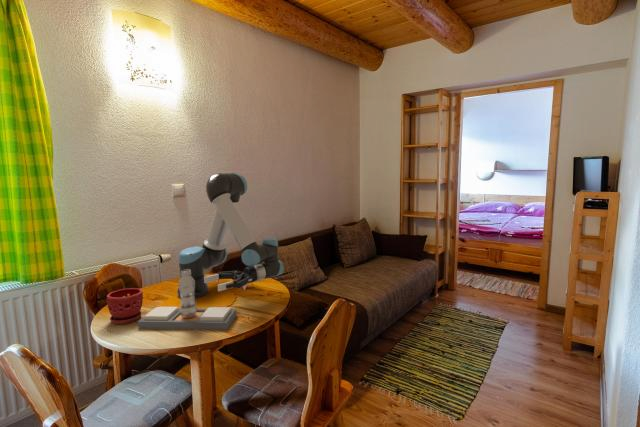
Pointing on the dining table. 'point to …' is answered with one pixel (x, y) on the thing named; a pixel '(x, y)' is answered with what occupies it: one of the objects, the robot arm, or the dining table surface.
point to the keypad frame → (187, 323)
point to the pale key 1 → (161, 313)
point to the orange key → (189, 318)
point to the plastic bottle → (187, 294)
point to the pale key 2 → (215, 314)
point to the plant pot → (125, 305)
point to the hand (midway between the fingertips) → (211, 284)
